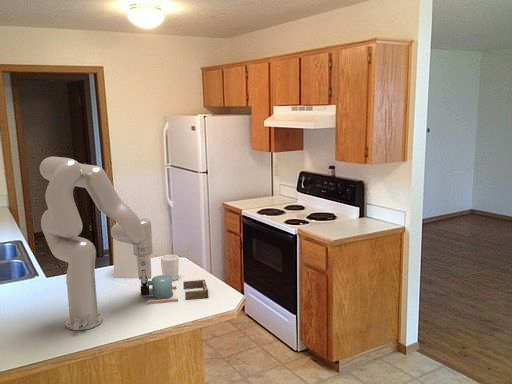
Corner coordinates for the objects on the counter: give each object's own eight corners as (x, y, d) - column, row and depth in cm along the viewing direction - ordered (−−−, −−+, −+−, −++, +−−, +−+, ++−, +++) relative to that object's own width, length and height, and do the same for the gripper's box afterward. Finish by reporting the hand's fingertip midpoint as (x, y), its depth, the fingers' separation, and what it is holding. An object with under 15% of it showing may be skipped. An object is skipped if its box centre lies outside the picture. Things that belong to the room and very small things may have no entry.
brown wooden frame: (208, 297, 189) (208, 290, 188) (185, 299, 187) (185, 292, 186) (205, 286, 201) (204, 279, 200) (183, 288, 199) (183, 281, 198)
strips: (178, 301, 186) (178, 299, 185) (147, 304, 183) (147, 301, 183) (176, 288, 199) (176, 285, 199) (147, 290, 196) (147, 288, 196)
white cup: (181, 275, 214) (180, 254, 212) (176, 282, 206) (175, 260, 204) (164, 275, 214) (163, 254, 212) (159, 281, 207) (158, 260, 205)
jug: (172, 298, 188) (172, 281, 187) (143, 301, 186) (142, 283, 184) (172, 291, 196) (171, 274, 194) (143, 293, 193) (142, 276, 192)
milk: (139, 278, 211) (136, 222, 206) (114, 278, 211) (110, 222, 206) (145, 268, 223) (143, 216, 218) (122, 268, 223) (118, 216, 218)
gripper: (152, 255, 179) (154, 300, 182) (152, 243, 195) (154, 284, 198) (132, 257, 177) (134, 302, 180) (133, 244, 193) (136, 286, 197)
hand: (145, 292), depth 189 cm, fingers open, 4 cm apart
